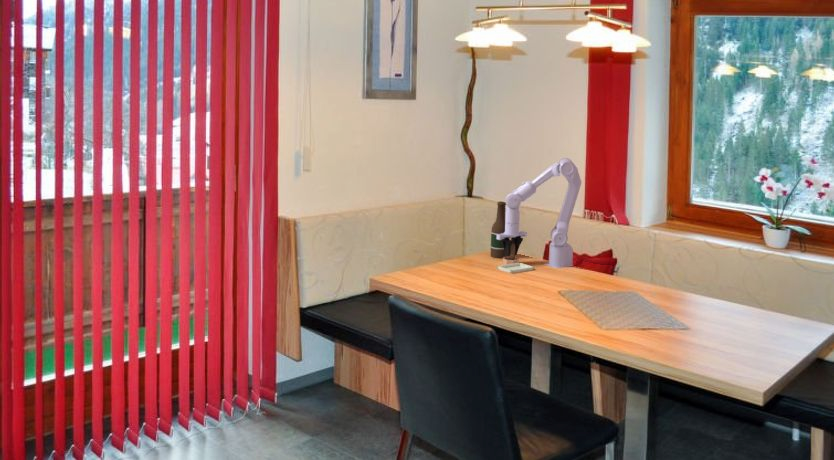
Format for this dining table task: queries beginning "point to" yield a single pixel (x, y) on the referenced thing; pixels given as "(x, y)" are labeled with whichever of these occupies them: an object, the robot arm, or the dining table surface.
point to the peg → (512, 252)
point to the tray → (515, 268)
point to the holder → (510, 261)
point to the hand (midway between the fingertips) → (511, 255)
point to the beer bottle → (498, 232)
